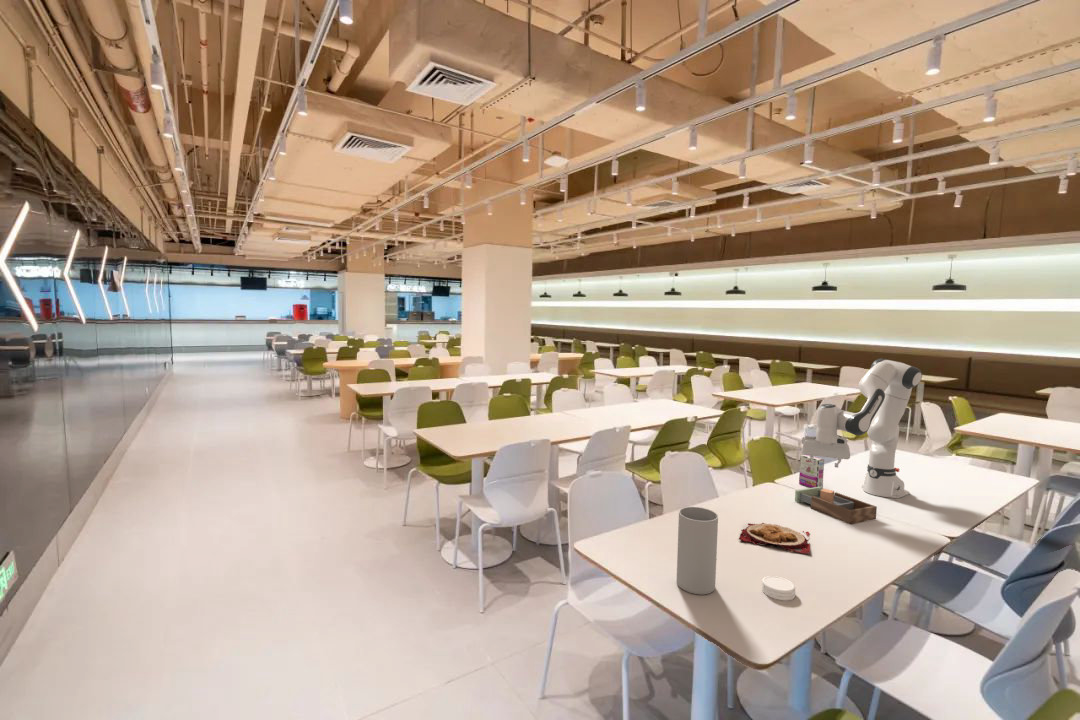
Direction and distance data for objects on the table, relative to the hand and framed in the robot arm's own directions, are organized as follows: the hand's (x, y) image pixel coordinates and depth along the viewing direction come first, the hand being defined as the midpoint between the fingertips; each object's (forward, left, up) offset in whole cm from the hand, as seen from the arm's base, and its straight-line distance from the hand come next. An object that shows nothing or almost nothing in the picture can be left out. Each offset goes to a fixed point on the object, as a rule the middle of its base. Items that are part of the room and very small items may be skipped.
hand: (825, 465), depth 241 cm
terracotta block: (0, +2, -18) cm, 18 cm away
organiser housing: (0, +10, -20) cm, 23 cm away
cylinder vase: (+107, +38, -20) cm, 115 cm away
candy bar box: (-20, -24, -20) cm, 37 cm away
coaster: (+84, +51, -21) cm, 100 cm away
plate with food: (+51, +18, -21) cm, 58 cm away
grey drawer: (0, +1, -20) cm, 20 cm away
